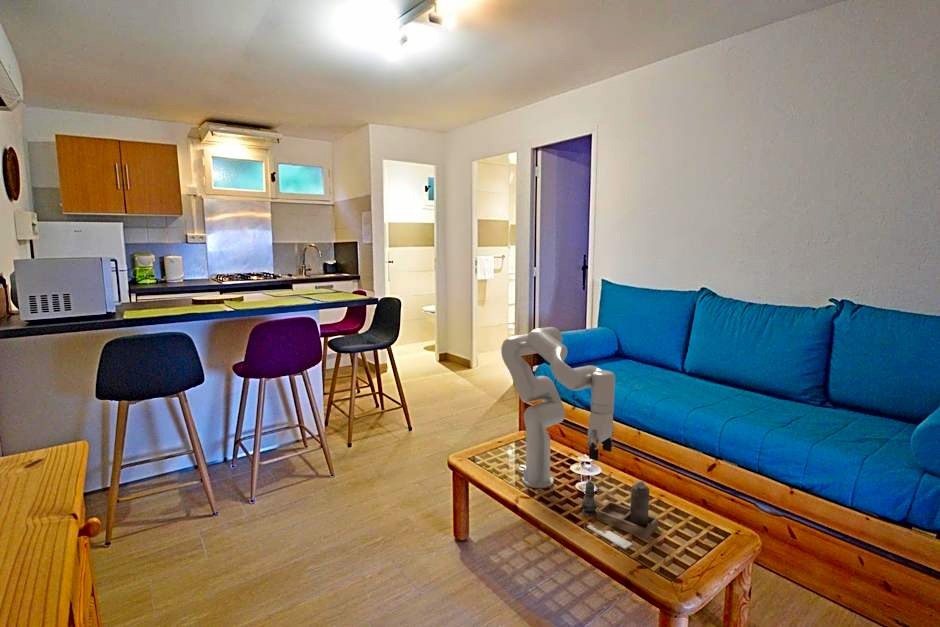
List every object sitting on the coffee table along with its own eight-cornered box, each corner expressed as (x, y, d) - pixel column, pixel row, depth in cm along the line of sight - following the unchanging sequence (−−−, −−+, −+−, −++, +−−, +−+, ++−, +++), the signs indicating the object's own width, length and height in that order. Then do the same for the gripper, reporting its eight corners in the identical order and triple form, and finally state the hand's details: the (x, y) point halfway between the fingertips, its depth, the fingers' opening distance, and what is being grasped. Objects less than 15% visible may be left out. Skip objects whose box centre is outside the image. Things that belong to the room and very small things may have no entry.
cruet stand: (596, 519, 168) (598, 473, 165) (609, 509, 174) (610, 464, 172) (646, 539, 156) (648, 490, 154) (657, 527, 162) (659, 480, 160)
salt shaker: (590, 518, 168) (591, 485, 167) (577, 511, 173) (578, 479, 171) (601, 513, 172) (602, 480, 170) (588, 506, 176) (589, 474, 175)
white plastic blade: (596, 523, 166) (597, 520, 166) (634, 545, 154) (634, 542, 154) (586, 528, 163) (586, 525, 163) (624, 550, 151) (624, 547, 151)
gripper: (603, 399, 175) (602, 444, 177) (579, 410, 162) (577, 459, 165) (623, 403, 170) (621, 450, 172) (600, 416, 157) (598, 466, 160)
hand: (600, 455), depth 169 cm, fingers open, 9 cm apart
